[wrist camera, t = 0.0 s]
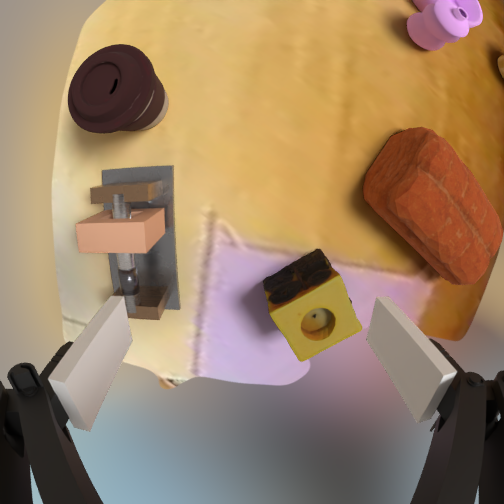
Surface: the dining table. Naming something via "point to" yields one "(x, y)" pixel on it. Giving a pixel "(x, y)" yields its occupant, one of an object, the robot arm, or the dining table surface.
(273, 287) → the candle
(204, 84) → the dining table surface
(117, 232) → the collar
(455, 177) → the bread
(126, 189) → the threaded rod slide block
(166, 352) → the dining table surface
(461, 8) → the container set
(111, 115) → the coffee cup
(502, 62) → the plant pot
